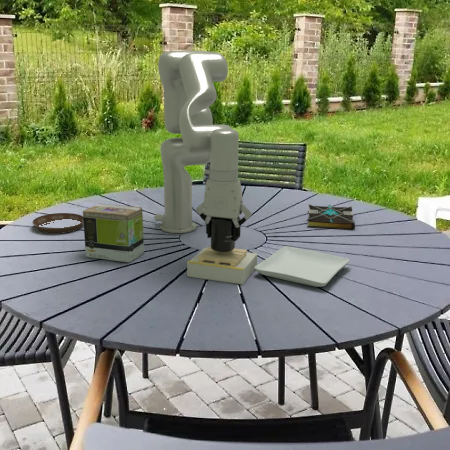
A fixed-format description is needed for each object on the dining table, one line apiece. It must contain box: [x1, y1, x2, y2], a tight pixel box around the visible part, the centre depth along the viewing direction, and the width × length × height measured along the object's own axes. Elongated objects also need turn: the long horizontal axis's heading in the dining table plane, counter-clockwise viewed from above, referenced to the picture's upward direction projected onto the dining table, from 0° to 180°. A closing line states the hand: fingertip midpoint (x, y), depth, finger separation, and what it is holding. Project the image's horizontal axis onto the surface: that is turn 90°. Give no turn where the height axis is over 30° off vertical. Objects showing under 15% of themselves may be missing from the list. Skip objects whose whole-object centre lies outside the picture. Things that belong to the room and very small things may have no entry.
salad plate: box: [254, 245, 350, 288], centre depth 163 cm, size 21×21×3 cm
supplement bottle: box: [210, 217, 236, 252], centre depth 159 cm, size 7×7×12 cm
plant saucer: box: [32, 212, 84, 234], centre depth 200 cm, size 18×18×3 cm
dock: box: [186, 245, 258, 285], centre depth 162 cm, size 16×14×6 cm
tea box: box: [82, 203, 145, 264], centre depth 172 cm, size 15×10×15 cm, turn 71°
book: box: [306, 203, 356, 231], centre depth 212 cm, size 22×17×5 cm
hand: (223, 237), depth 160 cm, fingers closed on supplement bottle, 6 cm apart
